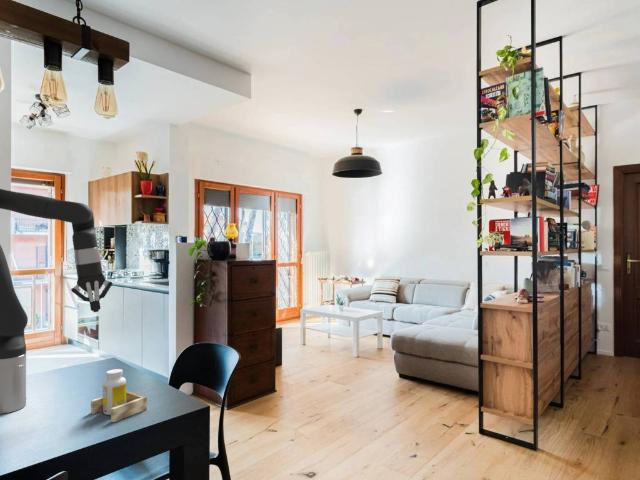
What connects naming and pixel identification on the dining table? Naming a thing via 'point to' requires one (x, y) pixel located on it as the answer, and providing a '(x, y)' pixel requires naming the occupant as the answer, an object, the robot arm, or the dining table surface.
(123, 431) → the dining table surface
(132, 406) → the birch caddy
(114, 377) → the supplement bottle
